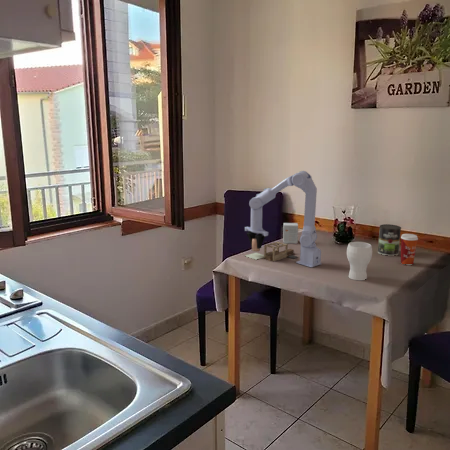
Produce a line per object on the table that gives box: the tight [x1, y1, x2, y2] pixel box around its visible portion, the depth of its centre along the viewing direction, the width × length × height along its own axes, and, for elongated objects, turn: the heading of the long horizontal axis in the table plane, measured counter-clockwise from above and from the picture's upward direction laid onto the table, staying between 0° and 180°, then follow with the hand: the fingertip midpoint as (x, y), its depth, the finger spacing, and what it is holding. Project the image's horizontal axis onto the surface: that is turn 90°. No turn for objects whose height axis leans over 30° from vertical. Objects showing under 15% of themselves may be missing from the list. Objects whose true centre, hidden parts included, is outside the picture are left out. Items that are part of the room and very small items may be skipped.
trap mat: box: [286, 254, 299, 260], centre depth 228 cm, size 4×4×1 cm
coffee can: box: [377, 223, 402, 257], centre depth 233 cm, size 10×10×14 cm
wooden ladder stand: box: [263, 241, 289, 262], centre depth 227 cm, size 6×10×7 cm, turn 131°
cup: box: [346, 241, 373, 281], centre depth 198 cm, size 11×11×15 cm
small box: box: [282, 222, 299, 245], centre depth 254 cm, size 8×6×10 cm
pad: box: [244, 252, 265, 261], centre depth 230 cm, size 8×8×1 cm
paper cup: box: [400, 233, 419, 265], centre depth 216 cm, size 8×8×14 cm
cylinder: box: [251, 238, 261, 253], centre depth 228 cm, size 4×4×6 cm
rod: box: [265, 248, 295, 262], centre depth 229 cm, size 2×18×2 cm, turn 132°
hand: (256, 247), depth 229 cm, fingers closed on cylinder, 4 cm apart
